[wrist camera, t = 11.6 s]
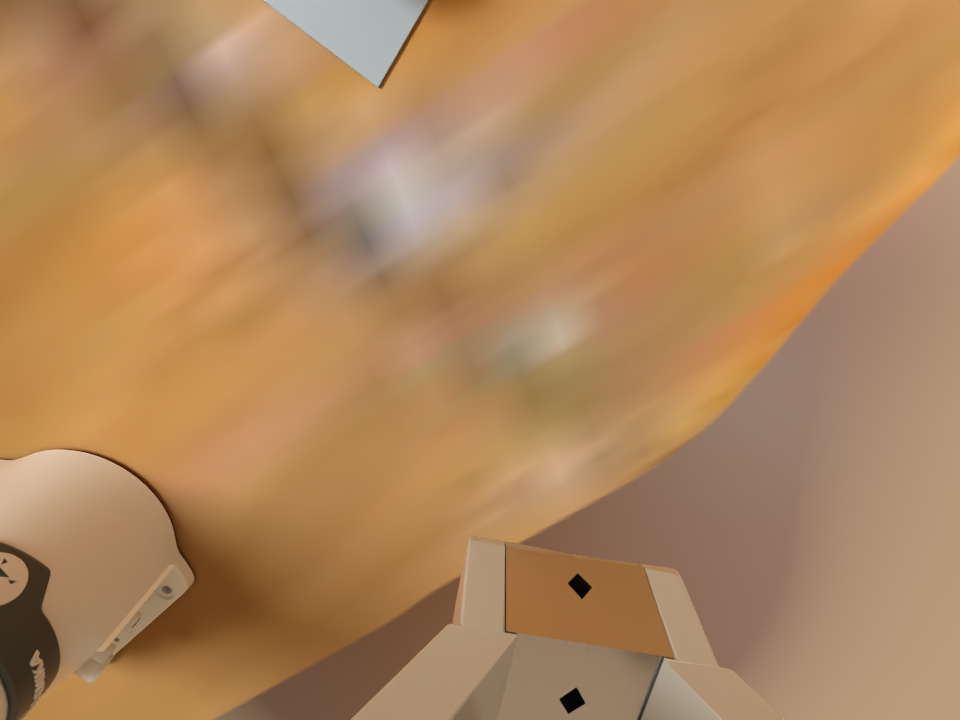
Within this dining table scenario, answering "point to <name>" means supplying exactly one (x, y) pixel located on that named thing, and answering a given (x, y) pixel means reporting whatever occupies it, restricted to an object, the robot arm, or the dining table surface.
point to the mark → (356, 29)
